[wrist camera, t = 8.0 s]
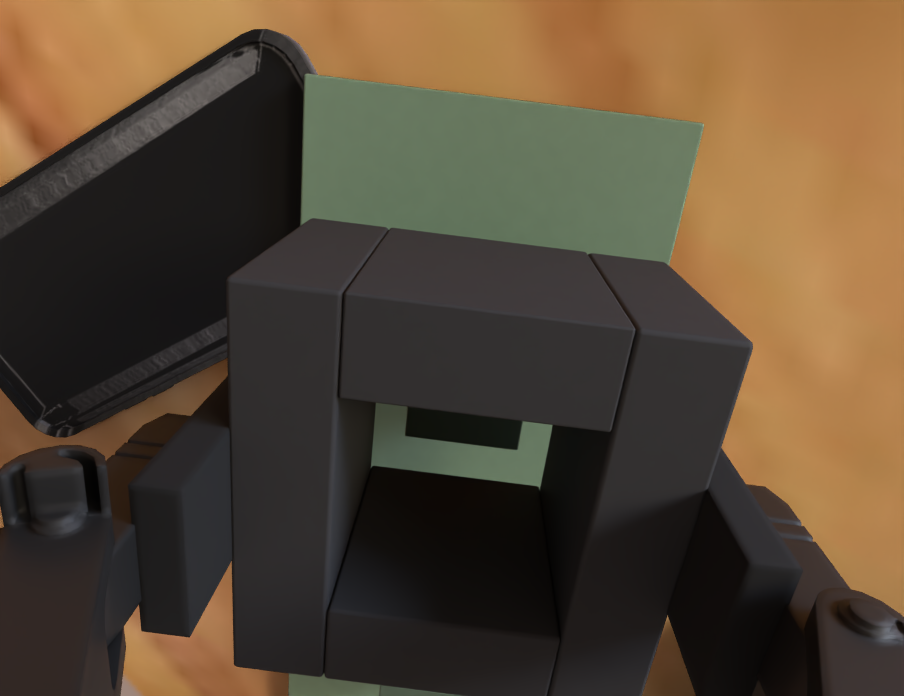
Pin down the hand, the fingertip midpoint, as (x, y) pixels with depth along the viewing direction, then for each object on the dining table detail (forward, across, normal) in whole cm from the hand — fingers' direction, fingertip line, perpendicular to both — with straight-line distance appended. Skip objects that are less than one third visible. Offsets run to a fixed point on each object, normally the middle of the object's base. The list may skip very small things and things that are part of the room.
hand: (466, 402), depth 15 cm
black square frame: (0, 0, 0) cm, 0 cm away
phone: (+7, +10, -1) cm, 12 cm away
